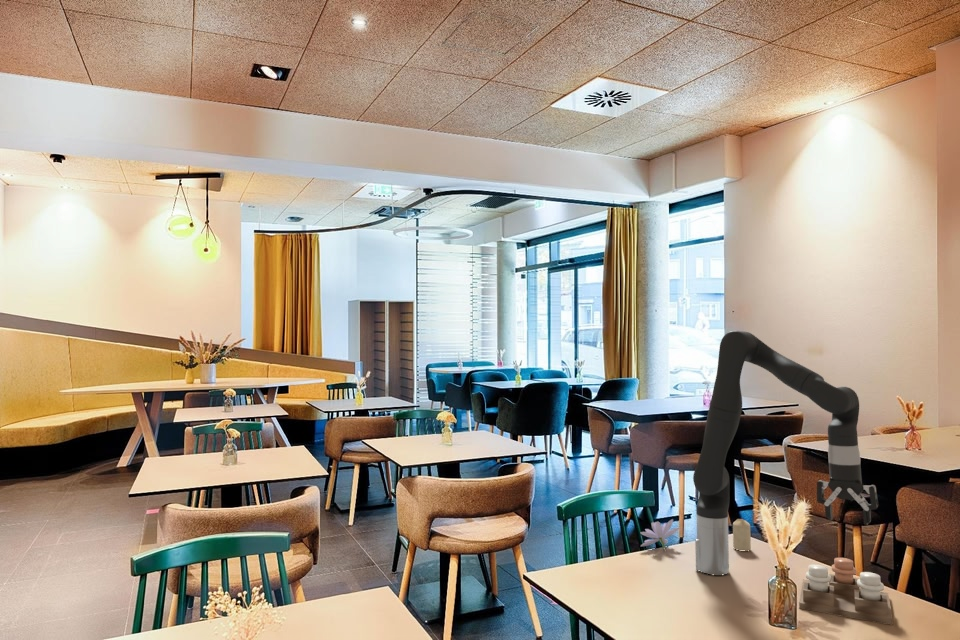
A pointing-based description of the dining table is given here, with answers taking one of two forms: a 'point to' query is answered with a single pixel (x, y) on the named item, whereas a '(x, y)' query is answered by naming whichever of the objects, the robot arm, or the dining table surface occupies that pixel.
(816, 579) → the knob
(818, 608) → the mount block
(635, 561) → the dining table surface
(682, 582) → the dining table surface
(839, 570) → the middle knob
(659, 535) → the water lily
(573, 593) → the dining table surface
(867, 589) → the knob
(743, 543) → the candle
